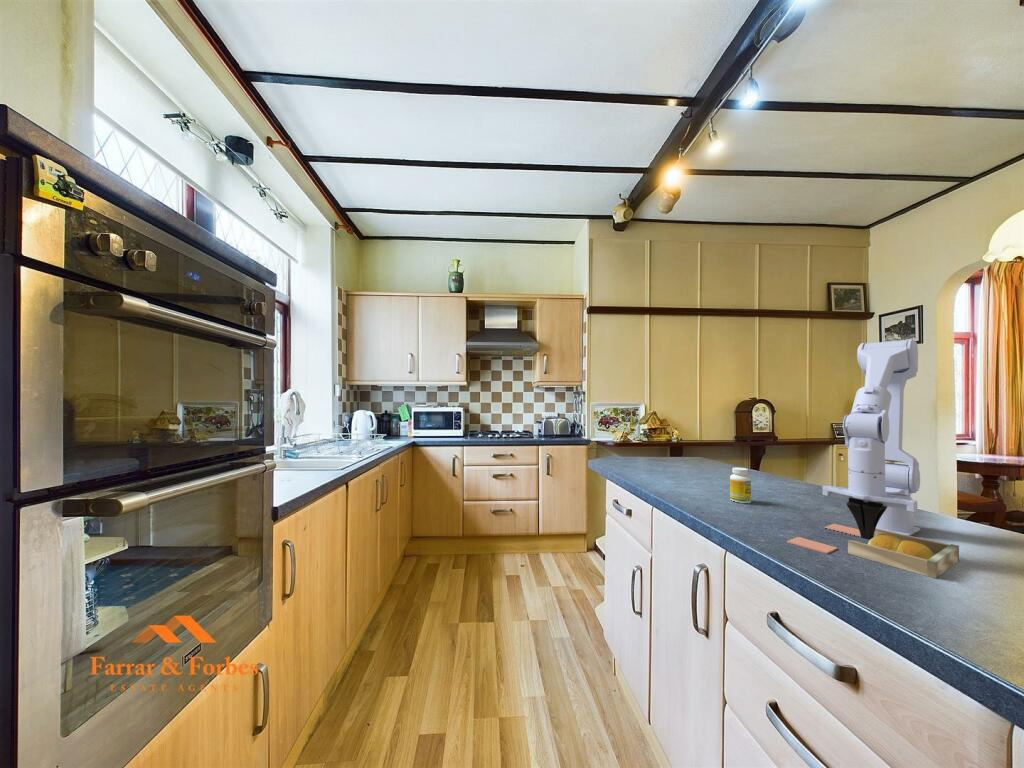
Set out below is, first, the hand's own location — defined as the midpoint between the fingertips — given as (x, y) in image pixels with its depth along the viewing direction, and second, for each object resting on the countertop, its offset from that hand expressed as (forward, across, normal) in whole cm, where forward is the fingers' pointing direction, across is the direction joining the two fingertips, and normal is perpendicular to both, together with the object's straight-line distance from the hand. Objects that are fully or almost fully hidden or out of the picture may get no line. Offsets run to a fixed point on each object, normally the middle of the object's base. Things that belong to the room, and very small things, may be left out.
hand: (867, 538), depth 81 cm
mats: (+2, -6, 0) cm, 6 cm away
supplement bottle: (+2, -33, +13) cm, 35 cm away
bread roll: (+2, +5, 0) cm, 5 cm away
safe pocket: (+2, +5, 0) cm, 6 cm away
